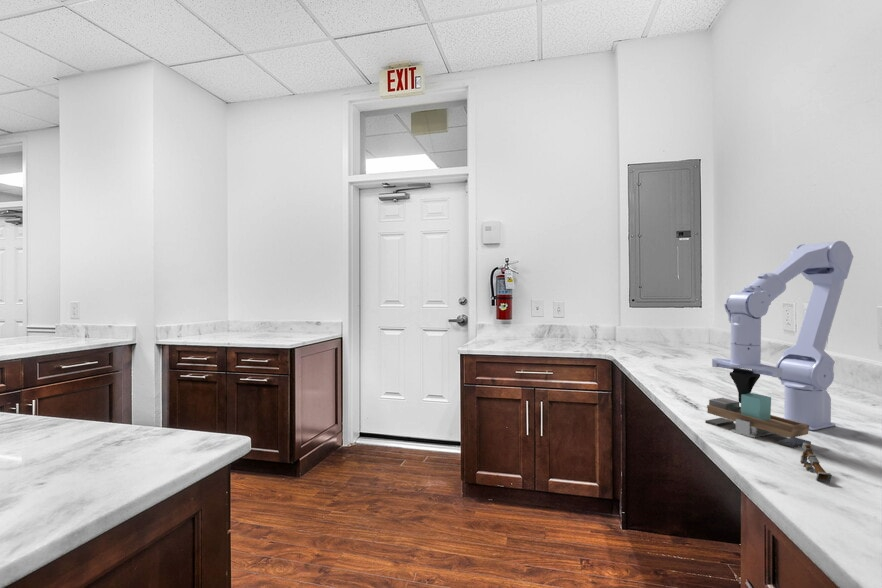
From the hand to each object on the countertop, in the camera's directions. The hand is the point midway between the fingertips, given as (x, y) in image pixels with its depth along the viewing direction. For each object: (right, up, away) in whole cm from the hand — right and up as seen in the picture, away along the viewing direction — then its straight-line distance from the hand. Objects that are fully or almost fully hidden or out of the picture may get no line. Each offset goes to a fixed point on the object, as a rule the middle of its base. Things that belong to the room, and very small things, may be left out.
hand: (744, 403), depth 102 cm
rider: (+1, -3, -2) cm, 4 cm away
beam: (+1, -4, -2) cm, 5 cm away
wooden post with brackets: (-5, -7, -24) cm, 26 cm away
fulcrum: (+1, -6, -2) cm, 7 cm away
